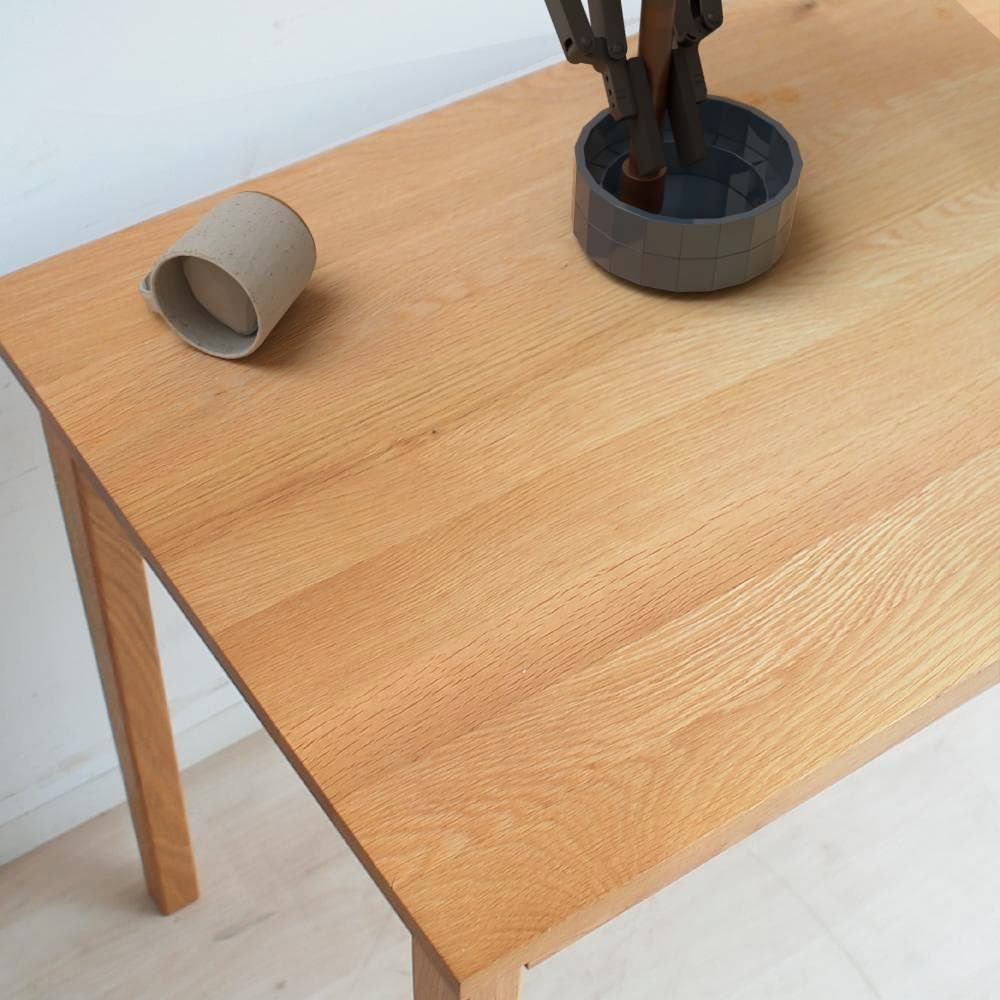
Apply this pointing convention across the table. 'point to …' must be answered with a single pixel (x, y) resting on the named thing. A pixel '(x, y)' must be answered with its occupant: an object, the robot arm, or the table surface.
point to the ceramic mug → (232, 274)
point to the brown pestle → (657, 60)
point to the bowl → (690, 201)
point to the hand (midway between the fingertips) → (673, 166)
